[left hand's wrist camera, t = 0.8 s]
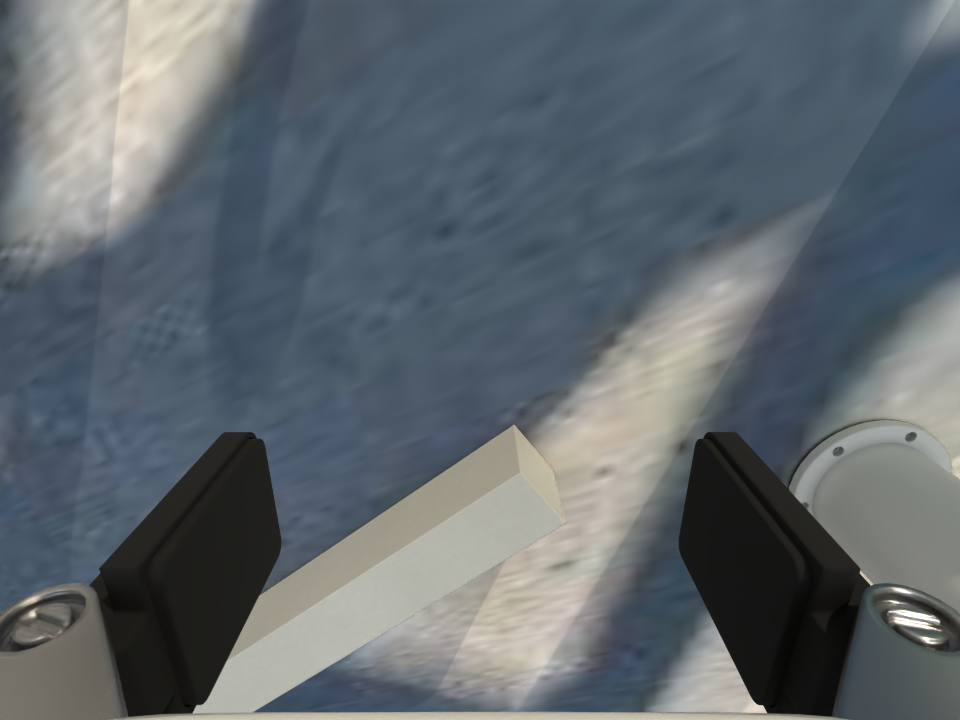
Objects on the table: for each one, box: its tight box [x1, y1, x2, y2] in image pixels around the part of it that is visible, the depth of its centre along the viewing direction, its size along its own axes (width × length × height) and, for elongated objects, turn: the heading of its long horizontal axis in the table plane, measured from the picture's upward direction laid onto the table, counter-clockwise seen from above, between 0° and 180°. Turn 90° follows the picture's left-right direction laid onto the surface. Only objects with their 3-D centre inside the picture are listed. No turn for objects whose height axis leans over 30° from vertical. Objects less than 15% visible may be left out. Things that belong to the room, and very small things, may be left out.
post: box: [192, 425, 565, 714], centre depth 48 cm, size 73×5×7 cm, turn 128°
